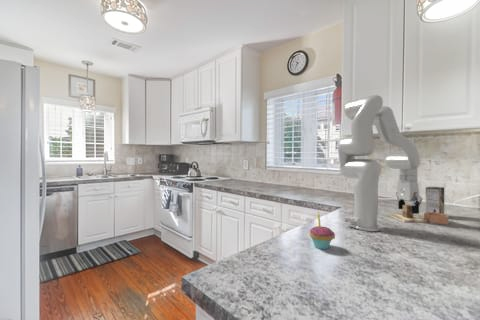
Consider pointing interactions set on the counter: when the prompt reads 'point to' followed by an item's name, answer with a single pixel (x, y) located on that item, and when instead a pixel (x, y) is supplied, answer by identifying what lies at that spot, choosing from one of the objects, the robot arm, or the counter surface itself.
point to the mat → (410, 222)
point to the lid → (407, 215)
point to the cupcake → (321, 236)
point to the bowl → (436, 217)
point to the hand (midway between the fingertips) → (408, 211)
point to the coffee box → (435, 199)
